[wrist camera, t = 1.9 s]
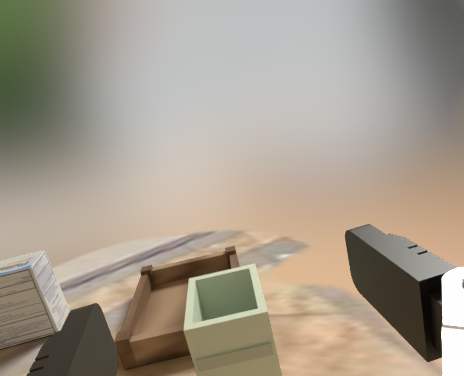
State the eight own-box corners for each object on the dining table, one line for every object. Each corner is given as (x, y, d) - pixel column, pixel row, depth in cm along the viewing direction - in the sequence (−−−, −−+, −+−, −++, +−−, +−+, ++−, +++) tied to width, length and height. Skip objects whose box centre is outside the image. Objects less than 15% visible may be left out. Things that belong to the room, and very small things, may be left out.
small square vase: (218, 448, 24) (183, 332, 21) (216, 374, 30) (188, 277, 27) (294, 431, 24) (267, 312, 21) (276, 360, 30) (254, 262, 27)
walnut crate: (124, 369, 33) (114, 341, 32) (148, 288, 46) (142, 267, 45) (252, 340, 33) (245, 311, 32) (239, 267, 46) (234, 245, 45)
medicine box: (71, 311, 44) (46, 247, 42) (60, 335, 40) (31, 265, 38) (5, 329, 44) (-24, 265, 41) (-14, 355, 40) (-48, 285, 37)
